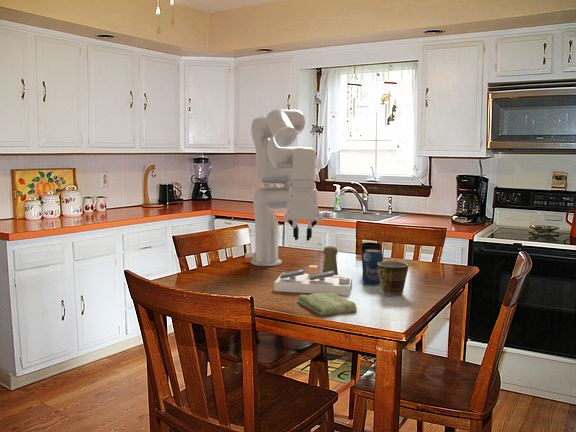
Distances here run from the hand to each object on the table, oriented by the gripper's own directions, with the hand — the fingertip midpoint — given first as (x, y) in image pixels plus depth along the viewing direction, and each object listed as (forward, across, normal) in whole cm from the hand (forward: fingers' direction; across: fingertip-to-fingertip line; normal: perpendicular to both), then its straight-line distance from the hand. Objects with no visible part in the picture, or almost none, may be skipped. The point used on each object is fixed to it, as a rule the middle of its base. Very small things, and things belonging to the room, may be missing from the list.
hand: (302, 239), depth 184 cm
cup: (+17, +22, +26) cm, 39 cm away
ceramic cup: (+17, +29, 0) cm, 34 cm away
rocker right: (+12, +7, 0) cm, 14 cm away
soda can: (+17, +23, +14) cm, 32 cm away
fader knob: (+14, +3, +8) cm, 16 cm away
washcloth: (+18, +10, -19) cm, 28 cm away
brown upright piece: (+17, +7, +24) cm, 30 cm away
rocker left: (+12, -3, 0) cm, 12 cm away
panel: (+17, +4, +4) cm, 18 cm away
